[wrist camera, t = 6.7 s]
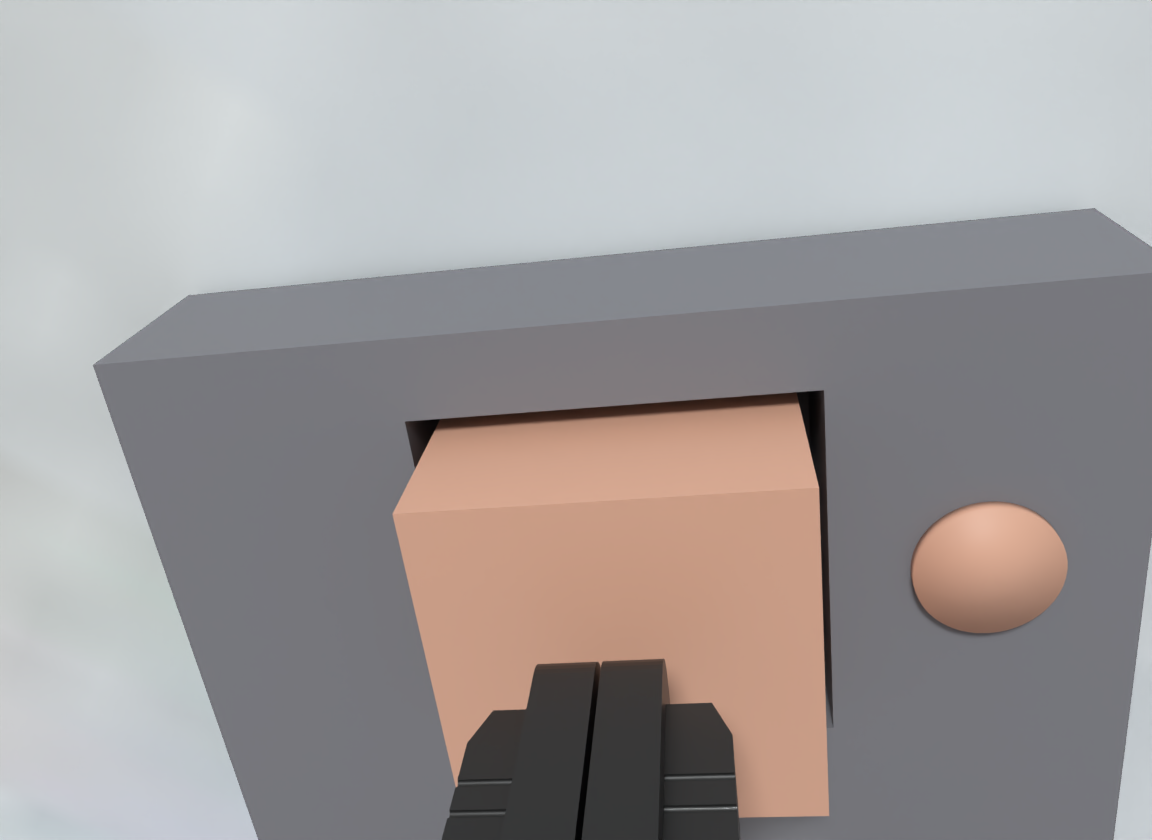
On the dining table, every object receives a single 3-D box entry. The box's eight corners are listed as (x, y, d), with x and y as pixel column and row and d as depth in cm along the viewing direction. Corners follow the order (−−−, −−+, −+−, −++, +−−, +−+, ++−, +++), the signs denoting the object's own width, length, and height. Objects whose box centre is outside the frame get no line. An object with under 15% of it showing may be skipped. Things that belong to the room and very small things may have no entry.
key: (793, 382, 14) (819, 487, 12) (806, 669, 16) (829, 816, 14) (445, 409, 15) (392, 513, 12) (499, 681, 17) (463, 822, 14)
